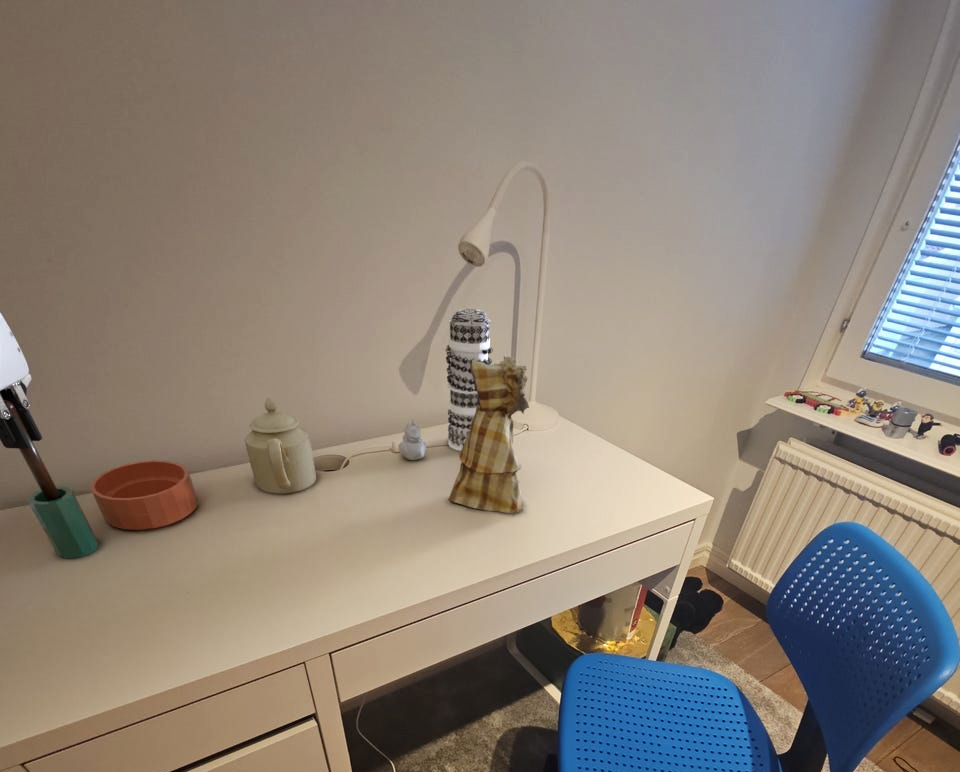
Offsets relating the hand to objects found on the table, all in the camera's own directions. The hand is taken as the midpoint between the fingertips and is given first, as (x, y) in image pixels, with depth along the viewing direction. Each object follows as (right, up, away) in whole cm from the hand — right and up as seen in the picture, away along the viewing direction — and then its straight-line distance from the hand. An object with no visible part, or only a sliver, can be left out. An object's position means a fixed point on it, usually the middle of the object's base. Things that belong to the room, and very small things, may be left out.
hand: (23, 442), depth 74 cm
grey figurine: (+47, +11, +40) cm, 63 cm away
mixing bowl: (+6, -5, +20) cm, 21 cm away
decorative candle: (+58, +16, +46) cm, 76 cm away
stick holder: (-1, -12, +11) cm, 17 cm away
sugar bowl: (+26, +2, +29) cm, 39 cm away
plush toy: (+63, 0, +28) cm, 69 cm away
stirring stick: (0, -8, +7) cm, 10 cm away
